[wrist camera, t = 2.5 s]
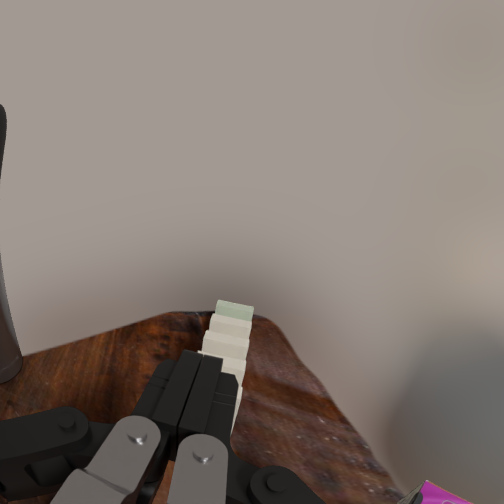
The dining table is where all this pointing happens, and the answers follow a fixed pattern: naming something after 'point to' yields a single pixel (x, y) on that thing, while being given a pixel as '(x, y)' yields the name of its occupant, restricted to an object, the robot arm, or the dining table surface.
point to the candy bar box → (431, 495)
